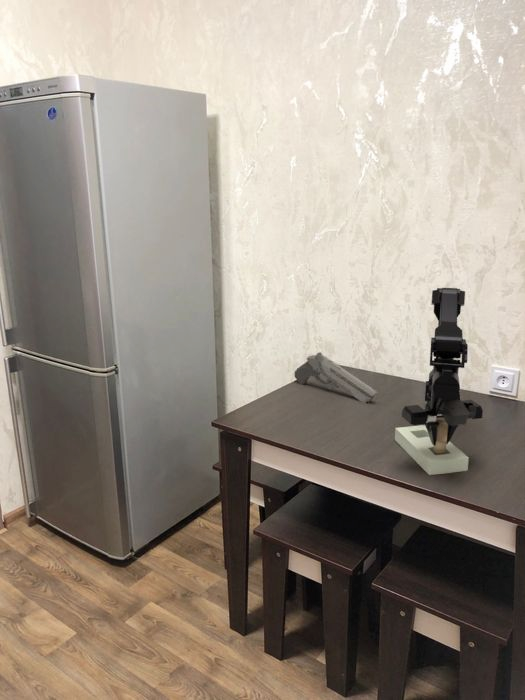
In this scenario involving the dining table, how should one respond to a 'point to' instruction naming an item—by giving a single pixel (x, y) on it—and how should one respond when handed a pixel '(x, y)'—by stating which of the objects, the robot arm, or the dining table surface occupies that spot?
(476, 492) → the dining table surface
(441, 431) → the dowel
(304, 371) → the handgun
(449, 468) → the socket block
